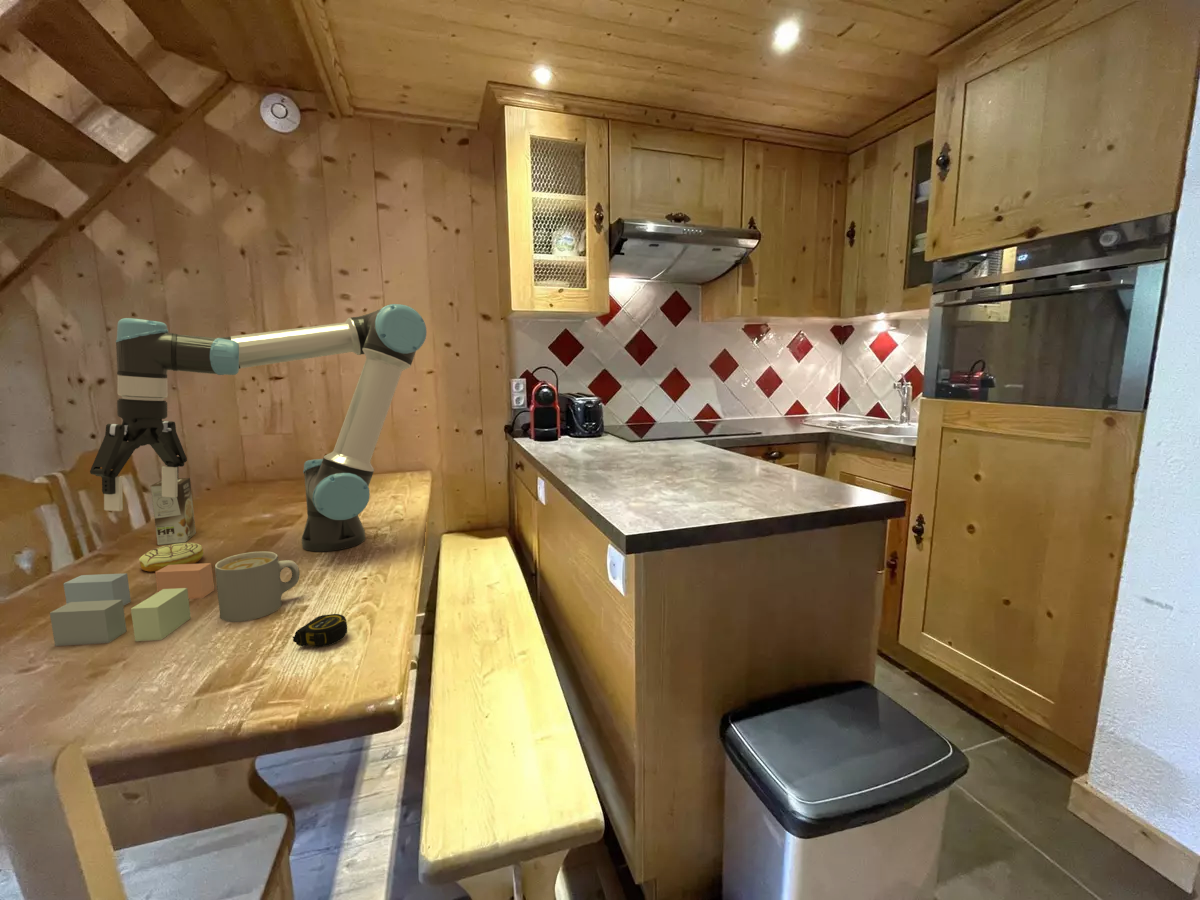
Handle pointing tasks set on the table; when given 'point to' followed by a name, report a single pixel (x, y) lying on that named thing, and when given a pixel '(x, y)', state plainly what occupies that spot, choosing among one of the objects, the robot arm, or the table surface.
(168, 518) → the coffee box
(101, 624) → the brick slate
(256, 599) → the coffee mug
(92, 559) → the table surface
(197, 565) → the brick terracotta
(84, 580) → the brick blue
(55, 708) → the table surface
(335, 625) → the tape measure
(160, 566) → the decorated donut
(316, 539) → the robot arm
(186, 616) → the brick sage
